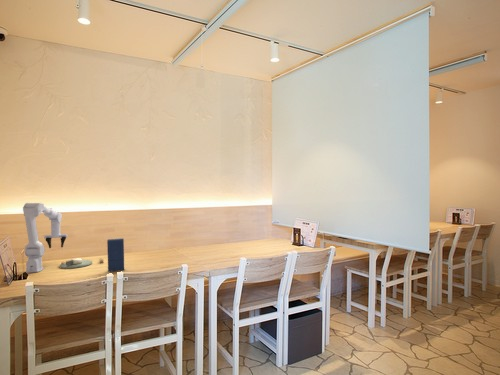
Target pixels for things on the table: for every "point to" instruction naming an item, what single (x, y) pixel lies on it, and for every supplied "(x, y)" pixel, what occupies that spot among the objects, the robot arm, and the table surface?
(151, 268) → the table surface
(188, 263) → the table surface
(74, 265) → the dial board
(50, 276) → the table surface
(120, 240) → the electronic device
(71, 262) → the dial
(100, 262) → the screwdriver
